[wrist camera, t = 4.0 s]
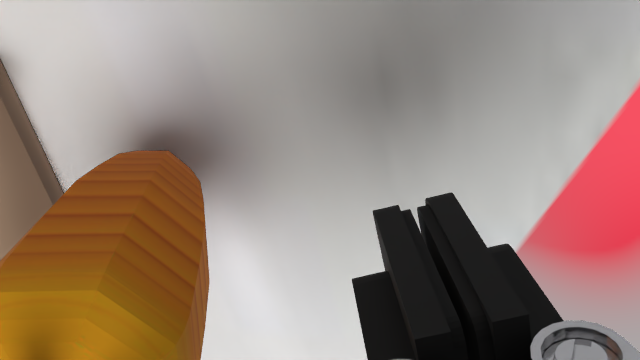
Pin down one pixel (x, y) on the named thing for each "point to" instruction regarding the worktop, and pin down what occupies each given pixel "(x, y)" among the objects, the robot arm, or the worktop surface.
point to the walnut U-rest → (21, 171)
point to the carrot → (112, 268)
